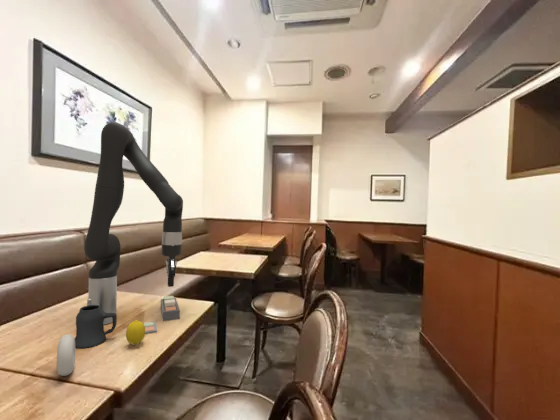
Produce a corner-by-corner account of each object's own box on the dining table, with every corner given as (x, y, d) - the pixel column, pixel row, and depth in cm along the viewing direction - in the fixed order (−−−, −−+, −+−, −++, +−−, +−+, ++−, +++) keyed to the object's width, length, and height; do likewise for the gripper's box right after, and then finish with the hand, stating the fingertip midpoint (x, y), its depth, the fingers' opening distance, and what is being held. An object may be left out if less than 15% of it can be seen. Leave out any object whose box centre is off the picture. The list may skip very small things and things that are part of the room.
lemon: (137, 350, 88) (137, 324, 87) (121, 348, 89) (121, 322, 89) (148, 342, 93) (149, 317, 93) (134, 340, 94) (134, 316, 94)
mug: (67, 350, 87) (68, 313, 87) (78, 337, 95) (78, 304, 95) (112, 345, 90) (113, 310, 90) (118, 333, 99) (119, 301, 99)
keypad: (162, 321, 110) (162, 312, 110) (160, 307, 125) (160, 299, 125) (179, 318, 113) (179, 310, 113) (175, 305, 128) (175, 297, 128)
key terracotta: (165, 316, 111) (165, 310, 111) (165, 313, 115) (165, 307, 115) (176, 315, 113) (176, 309, 113) (175, 312, 117) (175, 306, 117)
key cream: (164, 309, 116) (164, 303, 116) (164, 306, 120) (164, 300, 120) (175, 307, 118) (175, 302, 118) (174, 304, 122) (174, 299, 122)
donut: (60, 366, 78) (60, 330, 78) (75, 362, 80) (76, 327, 80) (55, 385, 70) (55, 345, 70) (72, 381, 72) (73, 342, 71)
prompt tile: (141, 334, 98) (141, 332, 98) (141, 324, 106) (141, 322, 106) (156, 332, 100) (156, 329, 100) (156, 322, 108) (156, 320, 108)
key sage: (164, 305, 121) (164, 299, 121) (163, 302, 125) (163, 296, 125) (174, 303, 123) (174, 298, 123) (173, 301, 126) (173, 295, 126)
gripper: (160, 241, 118) (159, 282, 119) (162, 245, 106) (161, 291, 107) (179, 240, 122) (178, 281, 122) (183, 245, 110) (182, 289, 110)
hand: (170, 286), depth 114 cm, fingers closed
